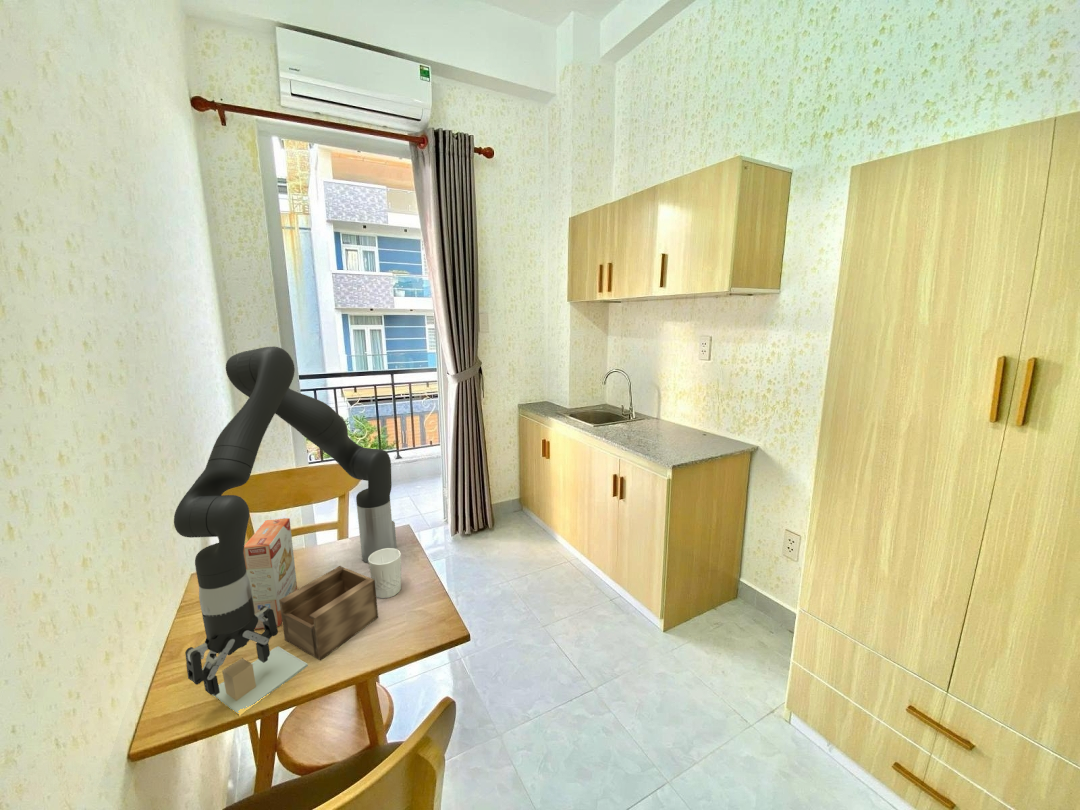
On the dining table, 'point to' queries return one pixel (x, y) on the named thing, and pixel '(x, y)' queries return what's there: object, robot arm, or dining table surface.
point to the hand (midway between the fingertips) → (239, 675)
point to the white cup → (386, 571)
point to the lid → (257, 678)
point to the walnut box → (328, 611)
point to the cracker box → (271, 566)
